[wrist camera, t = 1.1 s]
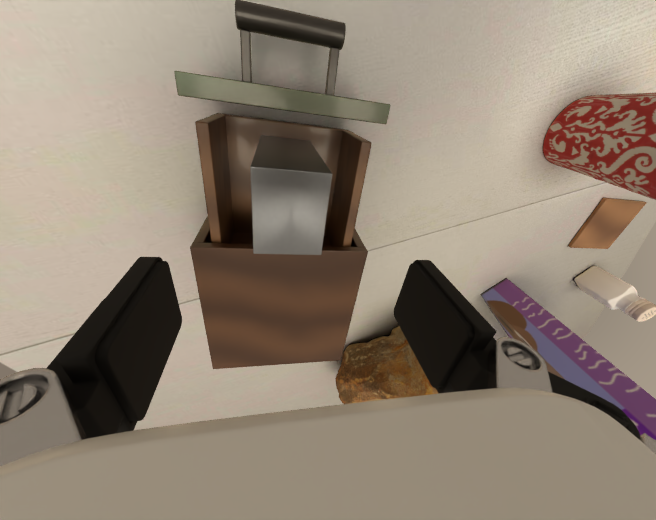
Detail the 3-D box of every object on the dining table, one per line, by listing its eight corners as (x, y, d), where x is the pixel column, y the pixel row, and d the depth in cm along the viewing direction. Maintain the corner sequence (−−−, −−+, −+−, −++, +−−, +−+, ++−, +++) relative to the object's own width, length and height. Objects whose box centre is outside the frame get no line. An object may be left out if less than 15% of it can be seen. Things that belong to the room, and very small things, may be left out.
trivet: (603, 197, 36) (606, 198, 36) (643, 201, 38) (646, 202, 37) (567, 246, 40) (570, 247, 40) (604, 247, 42) (608, 248, 42)
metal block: (261, 135, 23) (250, 166, 13) (310, 140, 24) (332, 173, 14) (261, 194, 26) (253, 253, 16) (305, 197, 27) (321, 255, 17)
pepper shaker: (577, 288, 47) (637, 327, 39) (571, 278, 45) (632, 317, 37) (599, 273, 46) (665, 311, 38) (593, 263, 44) (661, 300, 36)
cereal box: (480, 294, 43) (649, 462, 24) (506, 277, 42) (706, 441, 23) (508, 336, 52) (648, 484, 33) (530, 323, 51) (689, 469, 32)
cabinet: (214, 202, 27) (189, 247, 20) (344, 210, 30) (368, 251, 23) (226, 307, 36) (212, 369, 28) (327, 305, 39) (340, 360, 31)
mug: (519, 165, 31) (652, 206, 20) (570, 76, 26) (781, 66, 15) (591, 181, 34) (740, 224, 23) (648, 104, 30) (870, 113, 19)
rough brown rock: (329, 311, 41) (341, 410, 29) (431, 301, 41) (484, 394, 29) (334, 385, 54) (343, 473, 42) (410, 377, 55) (440, 461, 43)
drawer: (197, 6, 19) (156, -37, 12) (369, 42, 21) (409, 22, 15) (221, 233, 29) (206, 274, 22) (337, 237, 31) (352, 275, 25)
